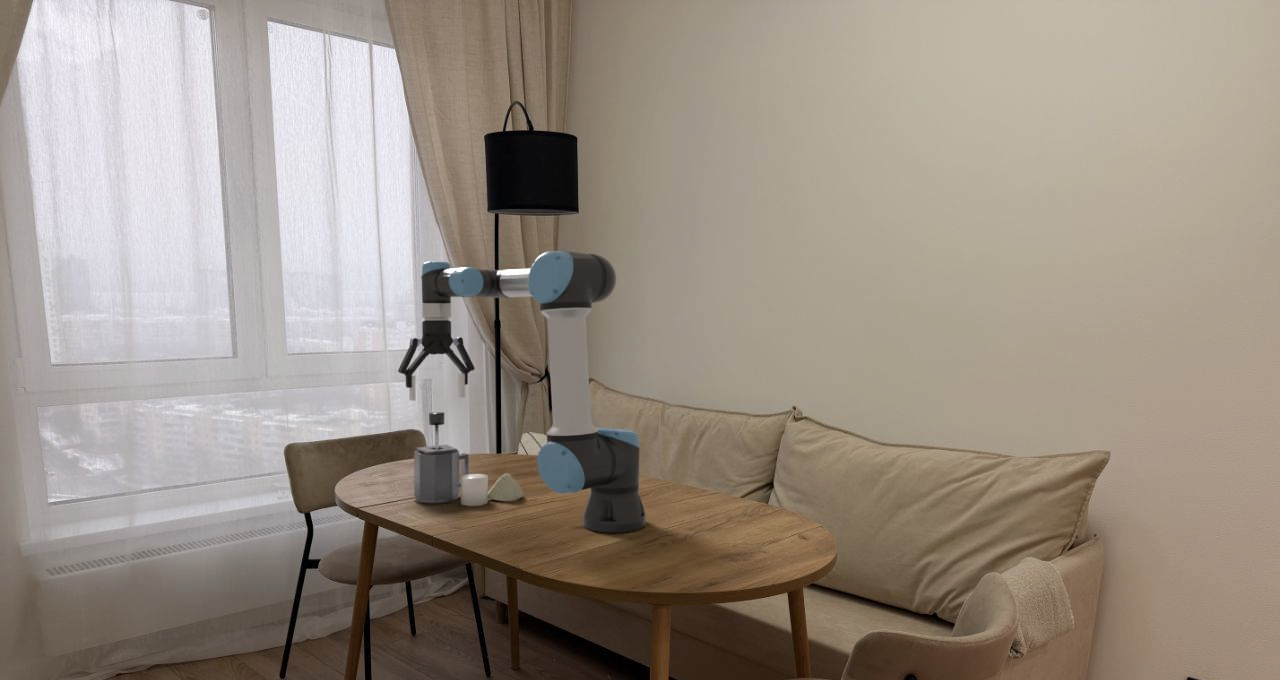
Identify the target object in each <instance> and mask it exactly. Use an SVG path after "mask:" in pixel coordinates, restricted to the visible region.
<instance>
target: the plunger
mask: <svg viewBox="0 0 1280 680" xmlns="http://www.w3.org/2000/svg"><path fill="white" fill-rule="evenodd" d="M428 425H430V426H434V446H435V449H439V445H440V443H439V441H440V439H439V437H440V436H439V435H440V434H439V431H440V430H439V426H442V425H445V412H444V411H433V412H429V413H428ZM435 455H438V454H435Z"/></svg>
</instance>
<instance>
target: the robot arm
mask: <svg viewBox="0 0 1280 680" xmlns="http://www.w3.org/2000/svg"><path fill="white" fill-rule="evenodd" d="M421 267H422V268H421V277H420V279H421V301H422V302H421V303H422V304H421V307H422V308H421V311H422V312H421V313H422V318H423V319H424V320H423V321H422V322H421V323H422V324H421V326H422V327H421V328H422V329H421V330H422V337H421V338H418V337H411V338H410V340H409V341H410V342H409V346H408V349H407V351H406V353H405V356H404V358H403V359H402V361H401V363H400V366H399V368H398V370H397V371H398V373H399V374H402V375H404V376H405V387H406V388H407V389H409V392H408V393H409V397H408V398H409V401H416V375H414V373H415V372H416V370H417V369H418V368H419V367H420V366H421V364H422V363H423V362H424V361H425V359H426V358H427V357H428V356H429V355H446V356H447V357H448V358H449V359H450V360H451V362H452V363H453V364H454V365H455V366H456V367H457V369H459V371H460V372H458V375H457V376H458V382H457V383H458V398H465V397H466V385H468V384H469V380H468V379H469V373H470V372H473V371H474V370H475V365H474V363H473V361H472V360H471V358H470V355H469V354H468V352H467V350H466V348H465V345H464V339H463V337H459V336H458V337H454V338H452V321H451V320H450V319H451V318H452V299H451V298H496V299H499V298H500V299H511V298H533V300H535V302H537V303H539V309H540V310H539V311H540V314H541V315H543V316H544V317H545V319H546V320H547V334H548V336H547V337H548V354H549V371H550V391H551V392H550V395H551V407H552V408H551V411H552V414H551V415H552V426H551V427H550V429H548V431H547V432H546V443H545V444H544V445H543V446H541V447H540V449H539V451H538V453H537V458H536V465H537V470H538V473H539V477H540V478H541V480H542V482H543V483H544V484H546V486H547V488H548V489H550V490H551V491H553V492H555V493H557V494H561V495H564V494H570V493H571V494H572V493H573V494H576V493H578V492H581V491H583V490H585V491H586V490H588V489H589V490H590V491H589V495H588V498H587V502H586V505H585V508H584V512H583V514H582V526H583V527H584V528H585V529H587V530H590V531H594V532H599V533H609V534H610V533H613V534H614V533H615V534H617V533H629V532H635V531H639V530H641V529H643V528H645V527H646V525H647V524H646V523H647V520H646V519H647V516H646V512H645V508H644V504H643V501H642V498H641V495H640V490H639V489H640V487H639V486H640V450H641V447H640V437H639V435H638V433H637V432H635V431H634V430H630V429H629V430H628V429H622V428H612V427H596V426H595V425H594V424H593V423H592V419H591V414H592V413H591V400H590V399H591V398H590V396H591V395H590V383H589V381H590V379H589V376H590V375H589V359H588V340H587V322H586V318H587V316H588V315H589V314H590V313H591V311H592V310H593V309H592V304H597V303H601V302H603V301H604V300H606V299H607V298H608V297H610V296H611V294H612V293H613V291H614V289H615V287H616V284H617V275H616V271H615V268H614V266H613V265H612V263H611V262H610V261H609V259H607V258H605V257H603V256H602V255H599V254H595V253H583V252H577V251H575V252H574V251H569V250H568V251H567V250H548V251H546V252H543V253H541V254H540V255H539V256H538V257H536V259H535V260H534V262H533V263H532V265H531V266H530V267H527V268H513V269H510V268H509V269H484V268H483V269H482V268H476V267H470V266H468V267H467V266H459V267H453V268H451V264H450V263H449V262H447V261H426V262H423V264H422V265H421ZM420 344H421V345H422V347H423V348H422V349H421V351H420V353H419V354H418V356H417V357H415V359H414V360H413V362H412V363H411V361H412V359H413V357H414V355H415V353H416V351H417V348H418V347H419V346H420ZM452 345H454V346H455V347H456V349H457V351H458V353H459V355H460V357H461V359H462V361H463V362H462V361H461V360H460V358H459V357H458V356H457V354H455V352H454V350H453V349H452V348H451V346H452ZM410 363H411V364H410Z"/></svg>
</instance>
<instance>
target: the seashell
mask: <svg viewBox="0 0 1280 680" xmlns="http://www.w3.org/2000/svg"><path fill="white" fill-rule="evenodd" d="M523 494H524V492H523V489H522V487H521V486H520V485H519V482H517V480H516V479H515V477H513V476H512V475H511V474H510V473H504V474H502V475H500V477H498V478H497V479H496V482H494V484H493V486H492V487H491V488H490V489H489V490H488V499H490V500H494V501H498V502H500V501H501V502H513V501H518V500H519V499H521V497H523Z"/></svg>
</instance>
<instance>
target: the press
mask: <svg viewBox="0 0 1280 680" xmlns="http://www.w3.org/2000/svg"><path fill="white" fill-rule="evenodd" d="M435 454H438V455H435ZM413 456H414V462H413V463H414V465H413V466H414V467H413V468H414V490H413V492H414V495H413V496H414V497H415V498H414V499H415V502H416V503H418V504H424V505H440V504H441V505H443V504H448V503H453V502H455V501H457V500H458V499H459V495H460V488H461V481H460V461H461V476H463V475H468V474H469V454H468V453H466V452H464V453H463V452H462V453H461V454H460V450H459V449H458V448H455V447H453V446H451V445H449V444H442V445H440V444H439V449H435V445H429V446H427V445H426V446H421V447H418V446H417V447H416V450H415V451H414V455H413Z"/></svg>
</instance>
